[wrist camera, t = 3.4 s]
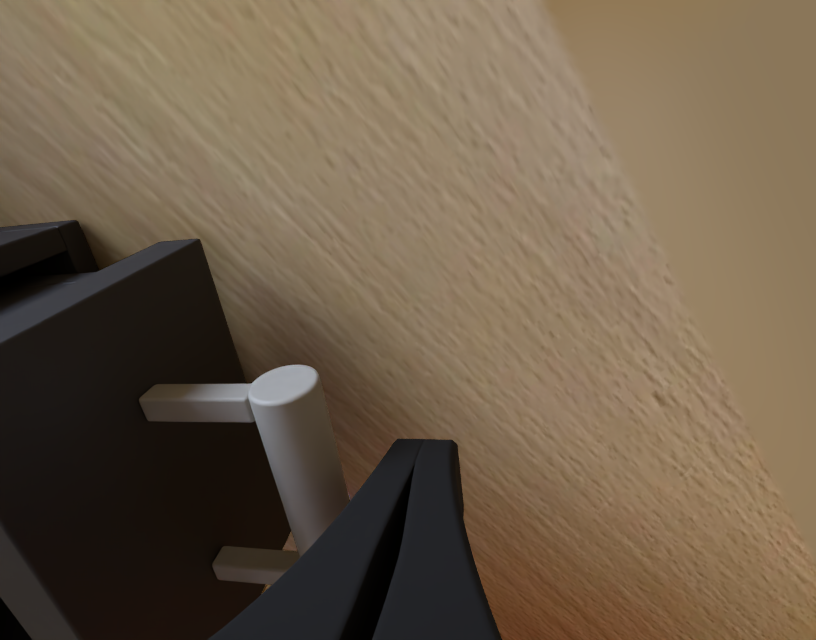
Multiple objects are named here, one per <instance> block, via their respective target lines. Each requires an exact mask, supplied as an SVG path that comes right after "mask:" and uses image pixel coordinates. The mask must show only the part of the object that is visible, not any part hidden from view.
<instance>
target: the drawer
mask: <svg viewBox="0 0 816 640" xmlns="http://www.w3.org/2000/svg"><path fill="white" fill-rule="evenodd" d="M349 502H350V499H349V494H348V490H347V486H346V482H345V478H344V474H343V470H342V466H341V461H340V457H339V453H338V449H337V445H336V441H335V437H334V433H333V428H332V424H331V420H330V416H329V412H328V408H327V404H326V400H325V396H324V391H323V387H322V383H321V379H320V375H319V373H318V372H317V371H316V370H315V369H314V368H312V367H310V366H306V365H288V366H283V367H279V368H276V369H273V370H271V371H268V372H266V373H264V374H263V375H261V376H260V377H258V378H257V379H256V380H255V381H254V382H253V383H252V384H246V381H245V378H244V375H243V372H242V369H241V365H240V362H239V359H238V356H237V353H236V350H235V347H234V344H233V341H232V337H231V334H230V331H229V328H228V325H227V322H226V319H225V316H224V313H223V310H222V306H221V303H220V300H219V297H218V294H217V291H216V288H215V285H214V282H213V278H212V275H211V272H210V269H209V266H208V263H207V260H206V257H205V254H204V251H203V247H202V244H201V241H200V239H189V240H177V241H164V242H158V243H156V244H154V245H152V246H150V247H148V248H146V249H144V250H142V251H140V252H137V253H135V254H133V255H131V256H129V257H127V258H125V259H123V260H121V261H119V262H116V263H114V264H112V265H110V266H108V267H106V268H104V269H102V270H100V271H98V272H89V273H75V274H60V275H45V276H31V277H16V278H1V279H0V640H208V639H209V638H210V637H211V636H213V635H214V634H215V633H217V632H218V631H219V630H221V629H222V628H223V627H224V626H226V625H227V624H228V623H229V622H230V621H232V620H233V619H234V618H235V617H236V616H238V615H239V614H240V613H241V612H242V611H243V610H245V609H246V608H247V607H248V606H249V605H250V604H251V603H252V602H254V601H255V600H256V599H257V598H258V597H259V596H260V595H261V593H262V591H263V589H264V587H265V585H266V584H269V585H273V584H274V583H275V582H276V581H277V580H278V579H279V578H280V577H281V576H282V575H283V574H284V573H285V572H286V571H287V570H288V569H289V568H290V567H291V566H292V565H293V564H294V563H295V562H296V561H297V560H298V559H299V558H300V557H301V556H302V555H303V554H304V553H305V552H306V551H307V550H308V549H309V548H310V547H311V546H312V545H313V544H314V542H315V541H316V540H317V539H318V538H319V537H320V536H321V535H322V533H323V532H324V531H325V530H326V529H327V528H328V527H329V526H330V524H331V523H332V522H333V521H334V520H335V519H336V518H337V516H338V515H339V514H340V513H341V512H342V511H343V509H344V508H345V507H346V506H347V504H348V503H349ZM291 531H292V534H293V537H294V541H295V544H296V547H297V550H298V551H284V550H282V549H283V547H284V545H285V543H286V541H287V539H288V536H289V534H290V532H291Z"/></svg>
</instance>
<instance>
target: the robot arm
mask: <svg viewBox="0 0 816 640" xmlns="http://www.w3.org/2000/svg"><path fill="white" fill-rule="evenodd" d="M463 513H464V503H463V494H462V484H461V474H460V464H459V455H458V445H457V444H456V443H455V442H454V441H453V440H435V439H397V440H396V441H395V442H394V443H393V444H392V446H391V447H390V449H389V450H388V451H387V453H386V454H385V456H384V457H383V459H382V460H381V461H380V463H379V464H378V465H377V467H376V468H375V470H374V471H373V472H372V474H371V475H370V476H369V478H368V479H367V480H366V482H365V483H364V484H363V486H362V487H361V488H360V489H359V491H358V492H357V493H356V494H355V496H354V497H353V498H352V499H351V501H350V502H349V503H348V504H347V506H346V507H345V508H344V509H343V511H342V512H341V513H340V514H339V515H338V516H337V518H336V519H335V520H334V521H333V522H332V523H331V524H330V526H329V527H328V528H327V529H326V530H325V531H324V532H323V533H322V535H321V536H320V537H319V538H318V539H317V540H316V541H315V542H314V544H313V545H312V546H311V547H310V548H309V549H308V550H307V551H306V552H305V553H304V554H303V555H302V556H301V557H300V558H299V559H298V560H297V561H296V562H295V563H294V564H293V565H292V566H291V567H290V568H289V569H288V570H287V571H286V572H285V573H284V574H283V575H282V576H281V577H280V578H279V579H278V580H277V581H276V582H275V583H274V584H273V585H271V586H270V587H269V588H268V589H267V590H266V591H265V592H264V593H263V594H261V595H260V596H259V597H258V598H257V599H256V600H255V601H254V602H252V603H251V604H250V605H249V606H248V607H247V608H246V609H245V610H243V611H242V612H241V613H240V614H239V615H238V616H236V617H235V618H234V619H233V620H232V621H230V622H229V623H228V624H227V625H226V626H224V627H223V628H222V629H221V630H219V631H218V632H217V633H215V634H214V635H213V636H211V637H210V638H209V639H208V640H502V638H501V636H500V633H499V631H498V628H497V625H496V623H495V620H494V617H493V615H492V612H491V609H490V607H489V604H488V601H487V598H486V595H485V592H484V589H483V586H482V584H481V580H480V577H479V574H478V571H477V568H476V565H475V561H474V558H473V554H472V551H471V547H470V544H469V540H468V537H467V532H466V528H465V524H464V520H463Z"/></svg>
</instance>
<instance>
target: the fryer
mask: <svg viewBox="0 0 816 640" xmlns="http://www.w3.org/2000/svg"><path fill="white" fill-rule="evenodd" d="M98 271H99V270H98V267H97V265H96V263H95V260H94V258H93V255H92V253H91V251H90V248H89V246H88V244H87V241H86V239H85V237H84V234H83V232H82V230H81V227H80V225H79V223H78V221H76V220H70V221H60V222H50V223H39V224H29V225H19V226H9V227H0V279H1V278H16V277H31V276H45V275H60V274H75V273H89V272H98Z"/></svg>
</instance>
